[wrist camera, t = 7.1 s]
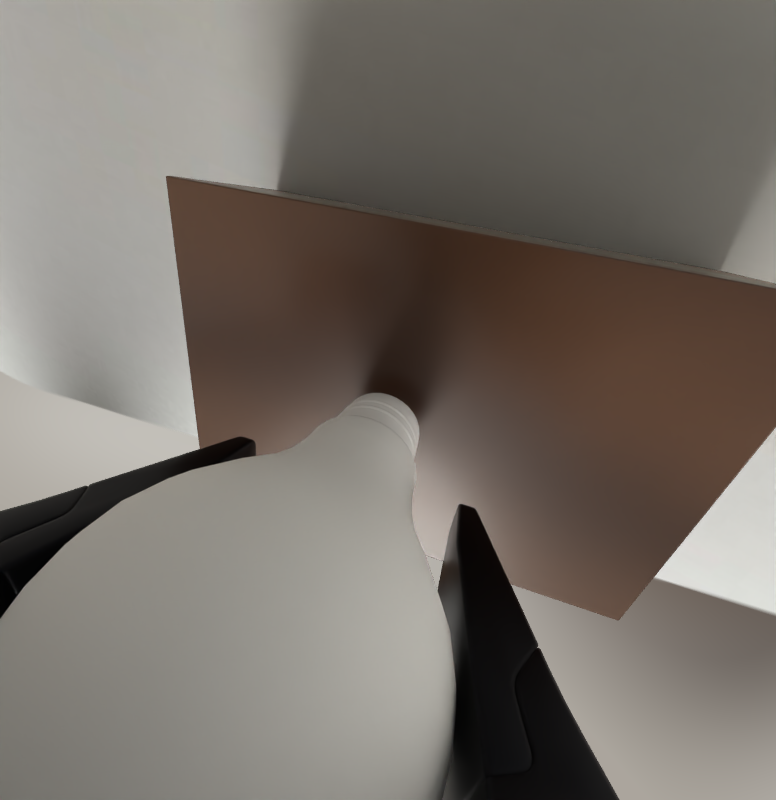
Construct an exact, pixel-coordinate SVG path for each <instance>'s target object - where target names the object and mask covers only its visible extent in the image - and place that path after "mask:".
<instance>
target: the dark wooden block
mask: <svg viewBox="0 0 776 800" xmlns="http://www.w3.org/2000/svg"><path fill="white" fill-rule="evenodd" d="M166 181H167V189H168V197H169V205H170V213H171V221H172V229H173V237H174V245H175V253H176V261H177V269H178V277H179V285H180V293H181V301H182V309H183V317H184V325H185V333H186V341H187V349H188V357H189V365H190V373H191V382H192V390H193V398H194V406H195V414H196V422H197V430H198V438H199V446H200V449H201V448H205V447H208V446H211V445H214V444H217V443H220V442H223V441H226V440H229V439H232V438H236V437H239V436H242V437H246V438H249V439H252V440H254V441H255V443H256V456H261V455H268V454H275V453H279V452H281V451H284V450H287V449H289V448H292V447H294V446H295V445H297V444H298V443H300V442H301V441H303V440H304V439H306V438H307V437H308V436H309V435H310V434H311V433H312V432H313V431H314V430H315V429H316V428H317V427H318V426H320V425H321V424H323V423H324V422H326V421H328V420H330V419H333V418H336V417H338V415H339V414H340V413H341V412H343V410H344V409H345V408H346V407H347V406H349V405H350V404H351V403H352V402H353V401H354V400H355V399H357V398H359V397H360V396H363V395H365V394H369V393H383V394H388V395H391V396H393V397H396V398H398V399H399V400H401V401H402V402H404V403H405V404H406V405H407V406H408V407H409V408H410V409H411V411H412V412H413V413H414V415H415V417H416V419H417V422H418V425H419V441H418V446H417V449H416V454H415V457H414V462H415V467H416V481H415V487H414V491H413V496H412V518H413V524H414V529H415V532H416V535H417V537H418V539H419V541H420V544H421V546H422V548H423V550H424V553H425V555H426V556H429V557H432V558H435V559H438V560H441V561H443V560H444V555H445V550H446V545H447V540H448V535H449V531H450V527H451V524H452V521H453V518H454V516H455V513H456V510H457V507H458V505H459V504H464V505H467V506H470V507H474V508H475V509H476V510H477V512H478V514H479V516H480V519H481V521H482V523H483V525H484V527H485V530H486V532H487V534H488V536H489V538H490V540H491V543H492V545H493V547H494V549H495V551H496V554H497V556H498V558H499V560H500V562H501V564H502V567H503V569H504V571H505V573H506V575H507V578H508V580H509V582H510V584H512V585H515V586H518V587H521V588H524V589H527V590H530V591H532V592H536V593H538V594H541V595H544V596H547V597H550V598H553V599H556V600H559V601H562V602H565V603H568V604H571V605H574V606H577V607H580V608H583V609H586V610H589V611H592V612H594V613H597V614H600V615H603V616H606V617H609V618H612V619H615V620H619V619H620V618H621V617H622V616H623V615H624V613H625V612H626V611H627V610H628V608H629V607H630V606H631V605H632V603H633V602H634V601H635V600H636V599H637V597H638V596H639V594H641V592H642V591H643V590H644V589H645V587H646V586H647V585H648V584H649V583H650V581H651V580H652V579H653V578H654V576H655V575H656V574H657V573H658V572H659V570H660V569H661V568H662V567H663V565H664V564H665V563H666V562H667V560H668V559H669V558H670V557H671V556H672V554H673V553H674V552H675V551H676V549H677V548H678V547H679V546H680V544H681V543H682V542H683V541H684V540H685V538H686V537H687V536H688V535H689V533H690V532H691V531H692V530H693V528H694V527H695V526H696V525H697V524H698V522H699V521H700V520H701V519H702V517H703V516H704V515H705V514H706V513H707V511H708V510H709V509H710V508H711V506H712V505H713V504H714V503H715V501H716V500H717V499H718V498H719V497H720V495H721V494H722V493H723V492H724V490H725V489H726V488H727V487H728V485H729V484H730V483H731V482H732V481H733V479H734V478H735V477H736V476H737V474H738V473H739V472H740V471H741V470H742V468H743V467H744V466H745V465H746V463H747V462H748V461H749V460H750V458H751V457H752V456H753V455H754V454H755V452H756V451H757V450H758V449H759V447H760V446H761V445H762V444H763V442H764V441H765V440H766V439H767V438H768V436H769V435H770V434H771V433H772V431H773V430H774V429H775V428H776V284H775V283H771V282H766V281H762V280H758V279H753V278H749V277H745V276H740V275H736V274H732V273H727V272H723V271H718V270H713V269H707V268H702V267H696V266H691V265H685V264H680V263H674V262H669V261H663V260H658V259H652V258H647V257H641V256H636V255H630V254H625V253H619V252H614V251H608V250H603V249H597V248H592V247H586V246H581V245H575V244H570V243H564V242H559V241H553V240H548V239H542V238H537V237H531V236H526V235H520V234H515V233H509V232H504V231H498V230H493V229H487V228H482V227H476V226H471V225H465V224H460V223H454V222H449V221H443V220H438V219H432V218H427V217H421V216H416V215H410V214H405V213H399V212H394V211H388V210H383V209H377V208H372V207H366V206H361V205H355V204H350V203H344V202H339V201H333V200H328V199H322V198H317V197H311V196H306V195H300V194H295V193H289V192H284V191H278V190H271V189H264V188H256V187H249V186H241V185H234V184H226V183H219V182H211V181H204V180H196V179H189V178H182V177H174V176H166Z"/></svg>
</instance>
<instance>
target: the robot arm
mask: <svg viewBox="0 0 776 800" xmlns="http://www.w3.org/2000/svg"><path fill="white" fill-rule="evenodd" d="M253 456H256V443H255V441H254V440H252V439H249V438H246V437H242V436H239V437H236V438H232V439H229V440H226V441H223V442H220V443H217V444H214V445H211V446H208V447H205V448H201V449H199V450H195V451H192V452H189V453H186V454H183V455H180V456H177V457H174V458H170V459H168V460H164V461H161V462H158V463H155V464H152V465H149V466H146V467H143V468H139V469H136V470H133V471H130V472H127V473H124V474H121V475H118V476H115V477H111V478H108V479H105V480H102V481H99V482H96V483H93V484H90V485H89V486H83V487H80V488H77V489H74V490H71V491H68V492H65V493H61V494H58V495H55V496H52V497H48V498H46V499H42V500H39V501H36V502H32V503H28V504H25V505H21V506H17V507H14V508H10V509H7V510H3V511H0V618H1V617H2V616H3V614H4V613H5V612H6V610H7V609H8V608H9V606H10V605H11V604H12V602H13V601H14V600H15V598H16V597H17V596H18V594H19V593H20V592H21V590H22V589H23V588H24V586H25V585H26V584H27V583H28V582H29V581H30V580H31V579H32V578H33V577H34V576H35V575H36V574H37V573H38V572H39V571H40V570H41V569H42V568H43V567H44V566H45V565H46V564H47V563H48V562H49V561H50V559H51V558H52V557H53V556H54V555H55V554H56V553H57V552H58V551H59V550H60V549H61V548H62V547H63V546H64V545H65V544H66V543H67V542H69V541H70V540H71V539H72V538H73V537H75V536H76V535H77V534H78V533H79V532H81V531H82V530H83V529H85V528H86V527H87V526H89V525H90V524H91V523H93V522H94V521H95V520H97V519H98V518H99V517H101V516H102V515H103V514H105V513H106V512H107V511H109V510H110V509H111V508H113V507H114V506H116V505H117V504H118V503H120V502H121V501H122V500H124V499H127V498H129V497H131V496H133V495H135V494H137V493H139V492H141V491H143V490H145V489H147V488H149V487H151V486H154V485H156V484H158V483H160V482H162V481H164V480H166V479H168V478H171V477H173V476H176V475H179V474H182V473H185V472H187V471H190V470H193V469H198V468H202V467H206V466H210V465H215V464H219V463H223V462H228V461H232V460H236V459H240V458H246V457H253ZM438 594H439V597H440V600H441V603H442V606H443V609H444V613H445V616H446V619H447V622H448V625H449V629H450V633H451V642H452V651H453V661H454V670H455V680H456V716H455V728H454V740H453V753H452V762H451V766H450V770H449V774H448V778H447V782H446V786H445V790H444V794H443V798H442V800H619V798H618V797H617V795H616V793H615V791H614V789H613V787H612V786H611V784H610V782H609V780H608V778H607V777H606V775H605V773H604V771H603V770H602V768H601V766H600V764H599V762H598V761H597V759H596V757H595V755H594V753H593V752H592V750H591V748H590V746H589V745H588V743H587V741H586V739H585V737H584V736H583V734H582V732H581V730H580V728H579V726H578V724H577V723H576V721H575V719H574V717H573V715H572V713H571V711H570V709H569V708H568V706H567V704H566V702H565V700H564V698H563V696H562V694H561V692H560V690H559V688H558V686H557V683H556V681H555V680H554V677H553V675H552V673H551V671H550V669H549V667H548V665H547V662H546V661H545V658H544V656H543V654H542V652H541V649H539V648H537V647H538V643H537V641H536V639H535V637H534V634H533V632H532V630H531V628H530V626H529V623H528V621H527V619H526V617H525V615H524V612H523V610H522V608H521V606H520V604H519V602H518V599H517V597H516V595H515V593H514V591H513V588H512V586H511V584H510V582H509V580H508V578H507V575H506V573H505V571H504V569H503V567H502V564H501V562H500V560H499V558H498V556H497V554H496V551H495V549H494V547H493V545H492V543H491V540H490V538H489V536H488V534H487V532H486V530H485V527H484V525H483V523H482V521H481V519H480V516H479V514H478V512H477V510H476V509H475V508H474V507H470V506H467V505H464V504H459V505H458V507H457V510H456V513H455V516H454V518H453V521H452V524H451V527H450V531H449V535H448V540H447V545H446V550H445V555H444V560H443V566H442V570H441V576H440V581H439V586H438Z"/></svg>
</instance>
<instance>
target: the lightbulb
mask: <svg viewBox="0 0 776 800" xmlns="http://www.w3.org/2000/svg"><path fill="white" fill-rule="evenodd" d="M418 441H419V425H418V422H417V419H416V417H415V415H414V413H413V412H412V411H411V409H410V408H409V407H408V406H407V405H406V404H405V403H404V402H402V401H401V400H399V399H398V398H396V397H393V396H391V395H388V394H383V393H369V394H365V395H363V396H360V397H359V398H357V399H355V400H354V401H353V402H352V403H351V404H350V405H349V406H347V407H346V408H345V409H344V410H343V412H341V413H340V414H339V415H338V417H336V418H333V419H330V420H328V421H326V422H324V423H323V424H321V425H320V426H318V427H317V428H316V429H315V430H314V431H313V432H312V433H311V434H310V435H309V436H308V437H307V438H306V439H304V440H303V441H301V442H300V443H298V444H297V445H295V446H294V447H292V448H289V449H287V450H284V451H281V452H279V453H275V454H268V455H261V456H253V457H246V458H240V459H236V460H232V461H228V462H223V463H219V464H215V465H210V466H206V467H202V468H198V469H193V470H190V471H187V472H185V473H182V474H179V475H176V476H173V477H171V478H168V479H166V480H164V481H162V482H160V483H158V484H156V485H154V486H151V487H149V488H147V489H145V490H143V491H141V492H139V493H137V494H135V495H133V496H131V497H129V498H127V499H124V500H122V501H121V502H120V503H118V504H117V505H116V506H114V507H113V508H111V509H110V510H109V511H107V512H106V513H105V514H103V515H102V516H101V517H99V518H98V519H97V520H95V521H94V522H93V523H91V524H90V525H89V526H87V527H86V528H85V529H83V530H82V531H81V532H79V533H78V534H77V535H76V536H75V537H73V538H72V539H71V540H70V541H69V542H67V543H66V544H65V545H64V546H63V547H62V548H61V549H60V550H59V551H58V552H57V553H56V554H55V555H54V556H53V557H52V558H51V559H50V561H49V562H48V563H47V564H46V565H45V566H44V567H43V568H42V569H41V570H40V571H39V572H38V573H37V574H36V575H35V576H34V577H33V578H32V579H31V580H30V581H29V582H28V583H27V584H26V585H25V586H24V588H23V589H22V590H21V592H20V593H19V594H18V596H17V597H16V598H15V600H14V601H13V602H12V604H11V605H10V606H9V608H8V609H7V610H6V612H5V613H4V614H3V616H2V617H1V618H0V800H442V798H443V794H444V790H445V786H446V782H447V778H448V774H449V770H450V766H451V762H452V753H453V740H454V728H455V716H456V680H455V670H454V661H453V651H452V642H451V633H450V629H449V625H448V622H447V619H446V616H445V613H444V609H443V606H442V603H441V600H440V597H439V594H438V591H437V588H436V585H435V582H434V579H433V576H432V573H431V570H430V567H429V564H428V561H427V558H426V555H425V553H424V550H423V548H422V546H421V544H420V541H419V539H418V537H417V535H416V532H415V529H414V524H413V518H412V496H413V491H414V487H415V481H416V467H415V462H414V457H415V454H416V449H417V446H418Z"/></svg>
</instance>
